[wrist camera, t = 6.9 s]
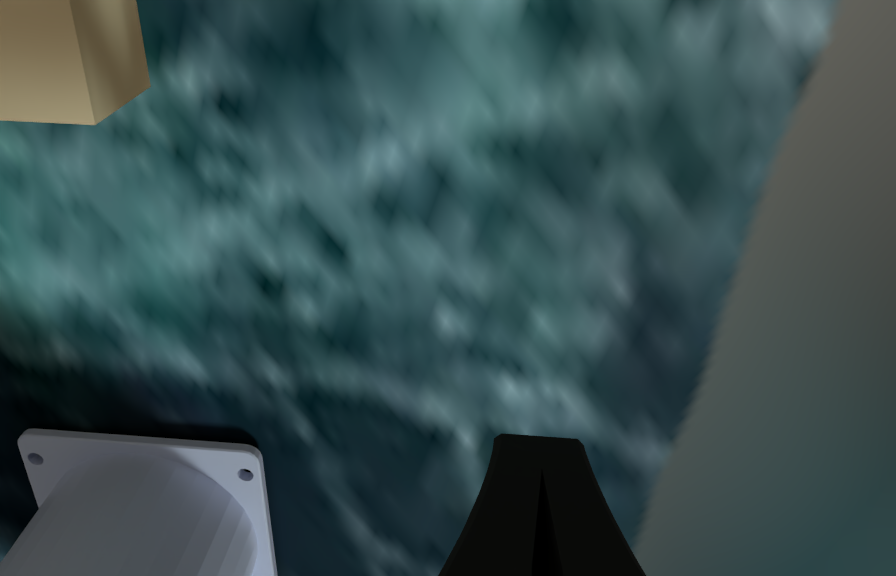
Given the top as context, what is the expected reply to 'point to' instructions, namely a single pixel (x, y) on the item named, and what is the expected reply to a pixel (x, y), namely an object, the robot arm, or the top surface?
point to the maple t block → (69, 59)
